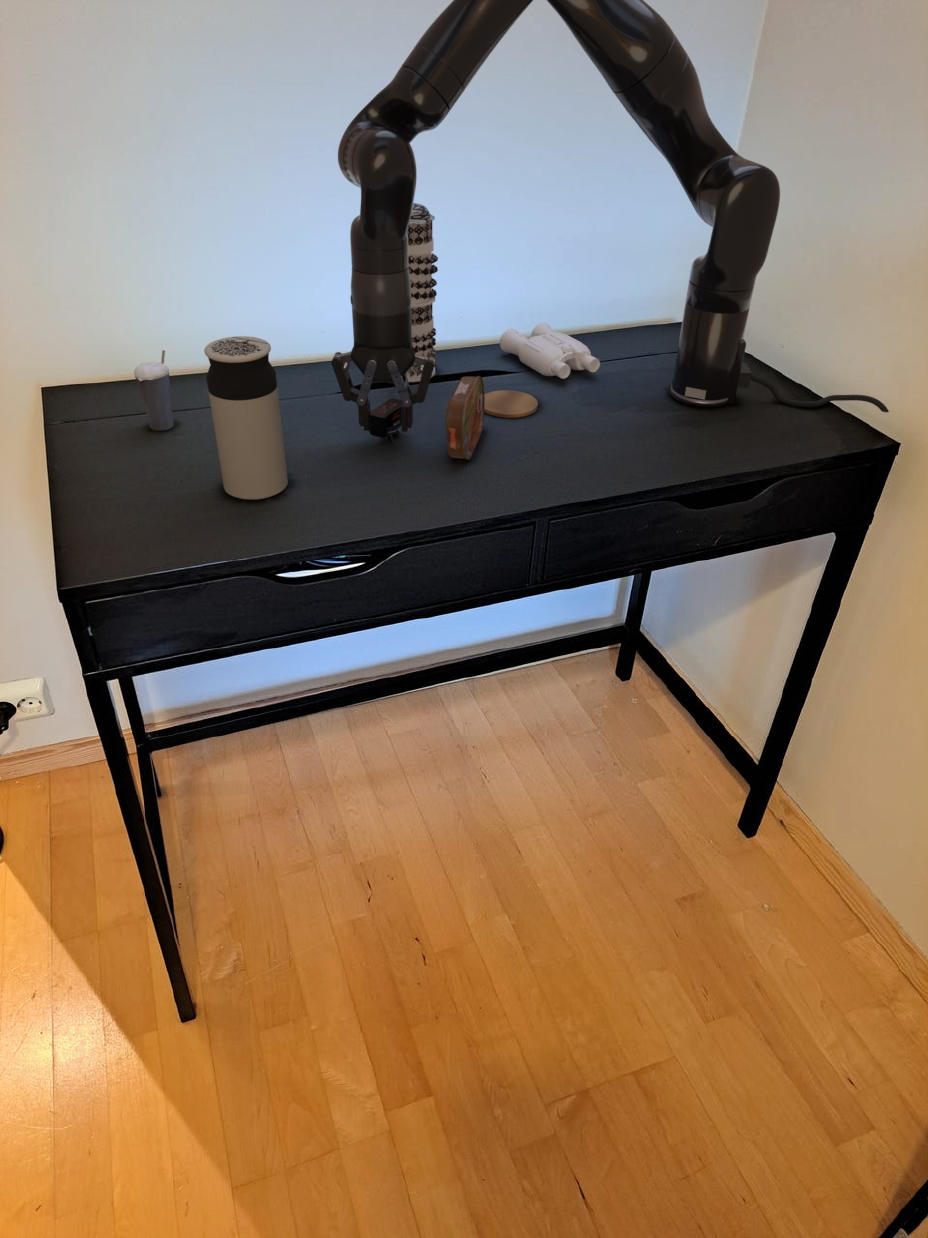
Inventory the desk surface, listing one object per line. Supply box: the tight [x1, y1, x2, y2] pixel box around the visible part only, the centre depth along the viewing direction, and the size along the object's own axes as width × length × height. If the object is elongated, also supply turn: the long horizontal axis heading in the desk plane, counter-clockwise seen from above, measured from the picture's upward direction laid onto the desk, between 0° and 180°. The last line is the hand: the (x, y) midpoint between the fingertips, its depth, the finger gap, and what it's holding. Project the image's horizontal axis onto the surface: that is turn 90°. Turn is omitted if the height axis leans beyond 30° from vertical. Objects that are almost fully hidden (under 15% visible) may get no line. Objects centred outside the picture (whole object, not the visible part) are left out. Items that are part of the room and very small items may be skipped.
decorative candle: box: [406, 202, 439, 383], centre depth 138 cm, size 9×9×25 cm
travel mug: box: [203, 335, 289, 500], centre depth 108 cm, size 8×8×18 cm
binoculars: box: [499, 322, 601, 380], centre depth 148 cm, size 10×16×5 cm, turn 30°
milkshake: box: [133, 350, 175, 432], centre depth 125 cm, size 4×5×10 cm
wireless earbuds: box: [368, 397, 402, 443], centre depth 123 cm, size 5×7×3 cm, turn 152°
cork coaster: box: [484, 389, 539, 419], centre depth 136 cm, size 9×9×1 cm
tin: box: [445, 375, 485, 461], centre depth 122 cm, size 15×3×8 cm, turn 168°
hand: (386, 428), depth 124 cm, fingers closed on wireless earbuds, 4 cm apart
